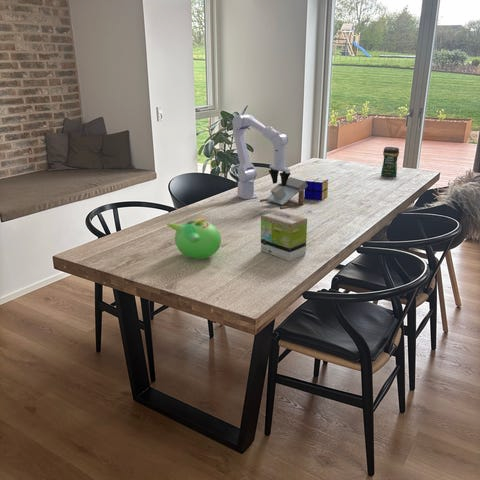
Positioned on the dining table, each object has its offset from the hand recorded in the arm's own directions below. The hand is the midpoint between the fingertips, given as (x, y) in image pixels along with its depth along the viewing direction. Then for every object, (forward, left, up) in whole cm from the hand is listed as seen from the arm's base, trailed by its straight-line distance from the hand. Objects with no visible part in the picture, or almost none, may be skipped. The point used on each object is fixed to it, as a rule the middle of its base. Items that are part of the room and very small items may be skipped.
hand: (279, 184), depth 252 cm
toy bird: (+44, -72, -10) cm, 85 cm away
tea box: (+59, -43, -10) cm, 73 cm away
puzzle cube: (+2, +23, -10) cm, 26 cm away
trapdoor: (0, +6, -6) cm, 8 cm away
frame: (0, +2, -10) cm, 10 cm away
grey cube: (0, +1, -6) cm, 6 cm away
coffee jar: (-14, +99, -10) cm, 101 cm away
